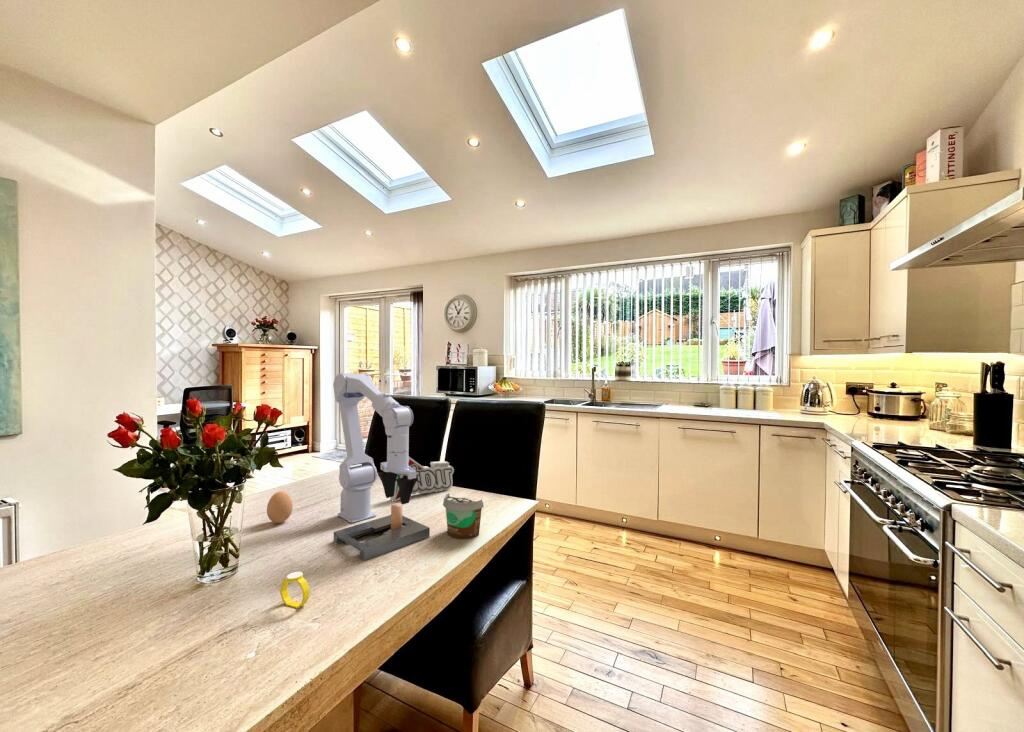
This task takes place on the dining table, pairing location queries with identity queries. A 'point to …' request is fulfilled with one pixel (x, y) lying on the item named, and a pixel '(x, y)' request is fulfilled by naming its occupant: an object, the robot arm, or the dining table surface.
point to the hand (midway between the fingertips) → (397, 500)
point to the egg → (279, 507)
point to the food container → (462, 517)
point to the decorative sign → (428, 478)
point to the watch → (304, 586)
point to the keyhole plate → (384, 543)
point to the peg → (396, 516)
